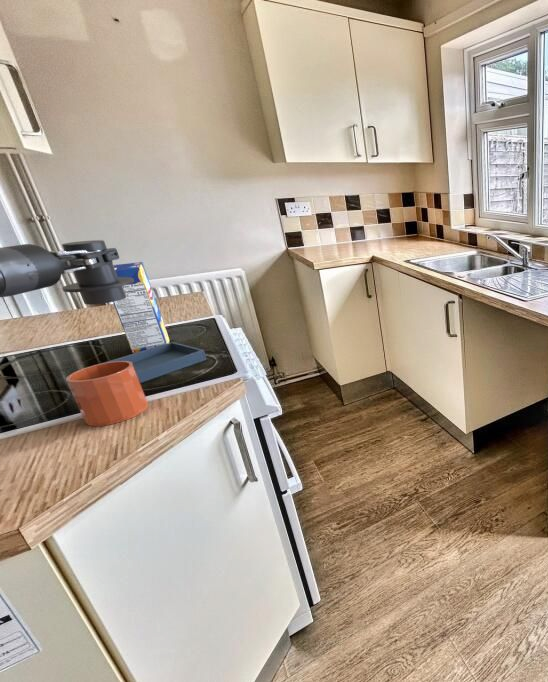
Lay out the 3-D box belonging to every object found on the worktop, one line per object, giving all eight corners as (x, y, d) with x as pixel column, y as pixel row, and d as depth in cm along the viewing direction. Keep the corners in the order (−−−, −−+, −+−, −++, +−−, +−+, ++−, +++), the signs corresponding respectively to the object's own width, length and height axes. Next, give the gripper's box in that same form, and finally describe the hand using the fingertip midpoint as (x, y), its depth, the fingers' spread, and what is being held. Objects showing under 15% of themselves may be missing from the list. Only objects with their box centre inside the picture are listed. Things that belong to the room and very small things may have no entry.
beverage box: (134, 358, 106) (101, 272, 98) (138, 345, 115) (107, 265, 107) (168, 351, 110) (138, 267, 102) (169, 340, 118) (142, 261, 110)
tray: (110, 393, 88) (106, 382, 87) (80, 381, 94) (76, 370, 93) (207, 359, 104) (204, 349, 103) (175, 351, 110) (172, 341, 109)
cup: (99, 430, 75) (79, 385, 71) (77, 419, 78) (57, 376, 75) (158, 407, 82) (142, 365, 79) (134, 398, 86) (118, 357, 83)
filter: (83, 310, 79) (57, 247, 75) (60, 304, 84) (34, 245, 80) (149, 296, 88) (129, 239, 84) (124, 291, 92) (104, 237, 88)
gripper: (46, 246, 68) (129, 233, 84) (-47, 249, 68) (54, 236, 83) (65, 291, 71) (142, 270, 86) (-24, 294, 70) (70, 273, 86)
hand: (99, 253), depth 85 cm, fingers closed on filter, 6 cm apart
